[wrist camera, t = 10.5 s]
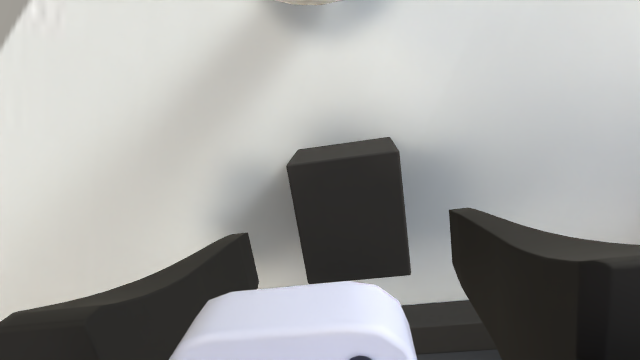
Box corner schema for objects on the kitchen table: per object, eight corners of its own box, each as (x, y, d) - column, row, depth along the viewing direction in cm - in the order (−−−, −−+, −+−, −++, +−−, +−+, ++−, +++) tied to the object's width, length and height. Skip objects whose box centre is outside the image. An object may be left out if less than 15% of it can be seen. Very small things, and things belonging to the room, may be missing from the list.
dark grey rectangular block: (390, 136, 17) (399, 150, 14) (401, 242, 18) (411, 275, 15) (297, 149, 17) (285, 165, 14) (315, 251, 19) (308, 285, 16)
